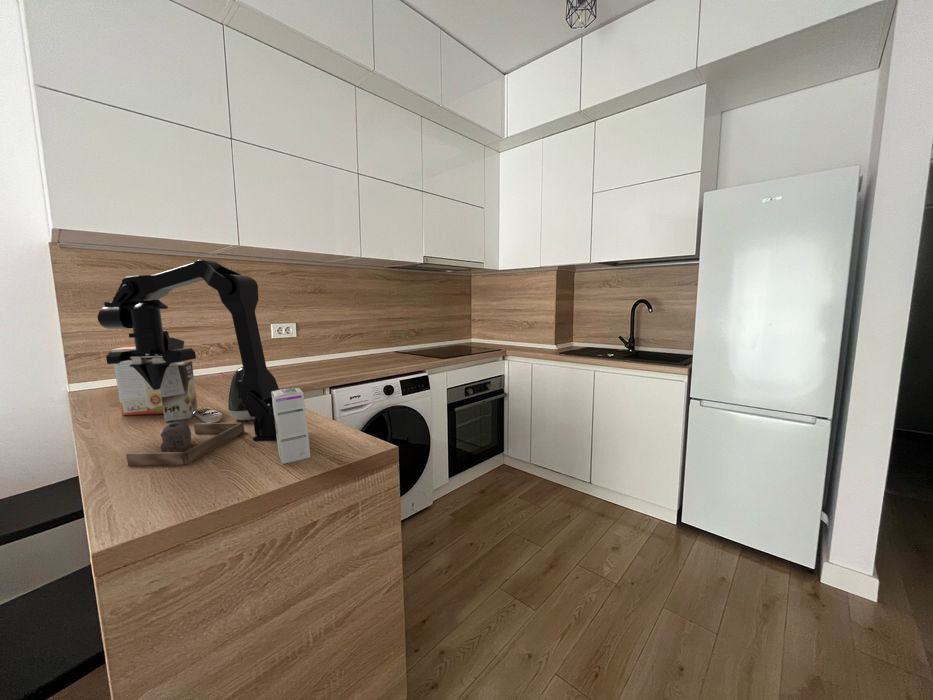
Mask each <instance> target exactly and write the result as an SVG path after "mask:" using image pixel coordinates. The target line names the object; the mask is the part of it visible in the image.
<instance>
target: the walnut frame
mask: <svg viewBox="0 0 933 700" xmlns="http://www.w3.org/2000/svg"><path fill="white" fill-rule="evenodd" d="M193 428H194V434H195V433H202V434H216V435H214V436H212V437H210V438H209V439H207V440H204V441H203V442H200V443H198V444H197V445H195V446H193V447H190V448H189V449H188V450H187V451H185V452H162V451H157V452H156V451H155V452H154V451H153V452H150V451H149V452H148V451H147V452H128V453H126V454H125V456H126V460H127V461H126V463H127V466H177V465H178V466H180V465H181V466H185V465H188V463H189V464H190V463H192V462H194V461H195V459H196V460H197V459H199V458H201V457H202V455H203V456H204V455H206V454H208V453H210V452H211V451H213V450H215V449H217V448H218V446H219V445H220V446H222V445H224V444H226V443H227V442H229V441H230V439H231V438H233V437H234V438H236V437H238V436H240V435H242V434H243V433H245V425H244V422H208V423H207V422H205V423H204V422H203V423H199V422H198V423H197V422H196V423H194V424H193ZM242 432H243V433H242ZM241 433H242V434H241ZM239 434H240V435H239ZM237 435H238V436H237ZM235 436H236V437H235ZM234 438H233V439H234ZM228 440H229V441H228ZM231 440H232V439H231ZM226 441H227V442H226ZM225 442H226V443H225ZM223 443H224V444H223ZM221 444H222V445H221ZM220 446H219V447H220ZM216 447H217V448H216ZM214 448H215V449H214ZM212 449H213V450H212ZM210 450H211V451H210ZM209 451H210V452H209ZM207 452H208V453H207ZM200 456H201V457H200ZM198 457H199V458H198ZM193 460H194V461H193Z"/></svg>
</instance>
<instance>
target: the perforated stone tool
mask: <svg viewBox="0 0 933 700" xmlns="http://www.w3.org/2000/svg"><path fill="white" fill-rule="evenodd" d="M160 437H161V440H162V443H161V445H160V446H159V447H160V448H159V449H160V452H185V451H187V450H189V449H190V446H191V442H192V431H191V428H190V426H189V424H188V423H187V422H186V421H184V420H175V421H171V423H170V424H168V425H166V426H165V427H164V428H163V429H162V430H161V433H160Z"/></svg>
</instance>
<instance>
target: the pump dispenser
mask: <svg viewBox="0 0 933 700" xmlns="http://www.w3.org/2000/svg"><path fill="white" fill-rule="evenodd" d="M243 375H244V369H243V366H241V367H239V368H237V369H236V370H235V372H234V373H233V376H232V379H231V380H230V385H229V390H228V396H227V409H228V410H229V412H230V414H231V416H233V418H234V419H236V420H238V421H242V420H243V422H245V420H248V421H253V420H252V419H255V417H250V415H249V413H248V411H247V408H246V406H245V405H244V404H243V403H242V401H241V398H238V396H239V393H238V389H237V386H236V382H237V381H240V380H242V378H243ZM267 405H268V406H269V404H267Z"/></svg>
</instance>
